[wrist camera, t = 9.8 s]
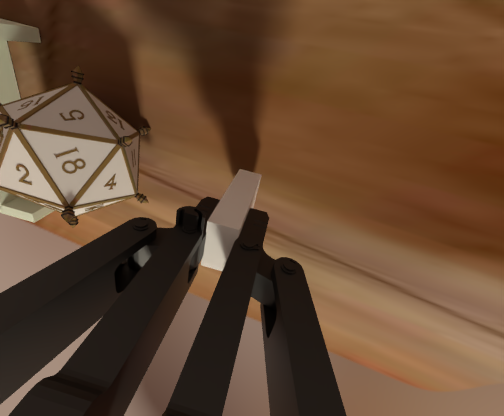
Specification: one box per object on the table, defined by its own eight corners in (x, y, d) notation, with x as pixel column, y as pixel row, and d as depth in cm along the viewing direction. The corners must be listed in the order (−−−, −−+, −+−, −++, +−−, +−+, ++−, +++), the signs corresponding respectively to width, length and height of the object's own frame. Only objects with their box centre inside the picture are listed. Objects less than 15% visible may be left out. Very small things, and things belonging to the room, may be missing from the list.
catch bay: (38, 28, 16) (-22, 20, 13) (69, 201, 23) (34, 222, 20) (-14, 14, 16) (-85, 4, 13) (32, 190, 23) (-8, 210, 20)
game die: (165, 137, 22) (182, 234, 17) (69, 168, 22) (54, 279, 16) (98, 18, 15) (90, 124, 9) (-50, 63, 14) (-149, 201, 9)
